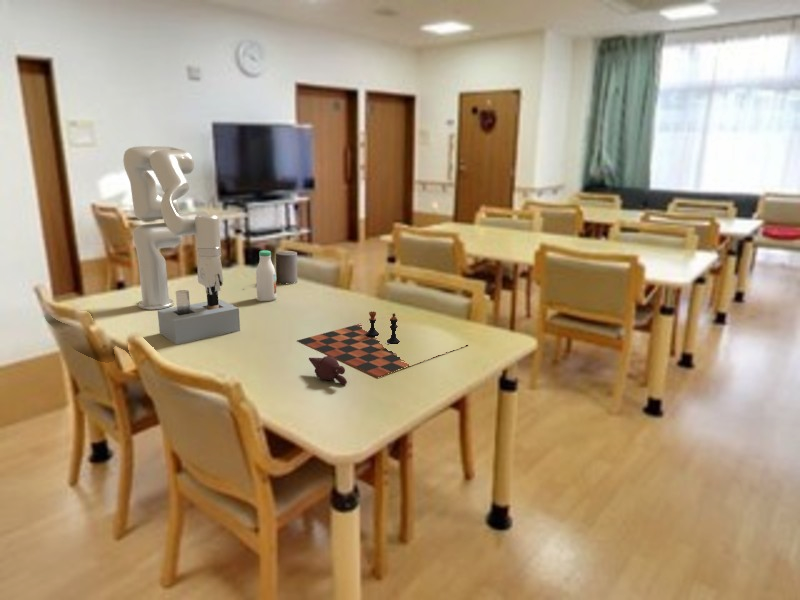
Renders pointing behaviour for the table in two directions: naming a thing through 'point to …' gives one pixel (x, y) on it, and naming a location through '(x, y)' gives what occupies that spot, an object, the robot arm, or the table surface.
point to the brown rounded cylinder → (212, 307)
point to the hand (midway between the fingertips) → (213, 305)
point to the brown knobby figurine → (328, 369)
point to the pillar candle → (286, 267)
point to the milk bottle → (265, 278)
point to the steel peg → (183, 302)
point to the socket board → (198, 322)
